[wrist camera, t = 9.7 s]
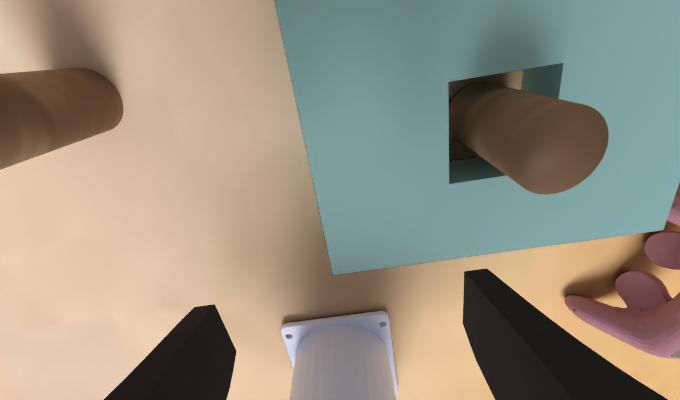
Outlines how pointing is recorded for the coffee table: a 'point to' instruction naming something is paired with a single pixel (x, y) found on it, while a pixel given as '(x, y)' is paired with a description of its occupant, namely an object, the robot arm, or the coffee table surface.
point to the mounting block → (433, 121)
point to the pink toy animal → (642, 300)
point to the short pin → (530, 135)
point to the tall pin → (53, 111)
